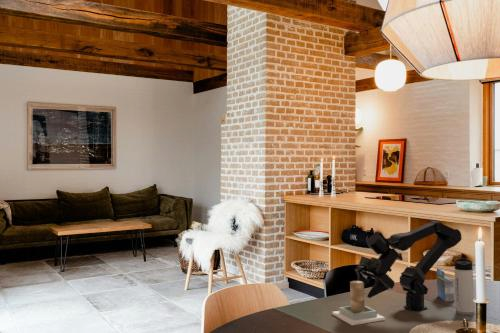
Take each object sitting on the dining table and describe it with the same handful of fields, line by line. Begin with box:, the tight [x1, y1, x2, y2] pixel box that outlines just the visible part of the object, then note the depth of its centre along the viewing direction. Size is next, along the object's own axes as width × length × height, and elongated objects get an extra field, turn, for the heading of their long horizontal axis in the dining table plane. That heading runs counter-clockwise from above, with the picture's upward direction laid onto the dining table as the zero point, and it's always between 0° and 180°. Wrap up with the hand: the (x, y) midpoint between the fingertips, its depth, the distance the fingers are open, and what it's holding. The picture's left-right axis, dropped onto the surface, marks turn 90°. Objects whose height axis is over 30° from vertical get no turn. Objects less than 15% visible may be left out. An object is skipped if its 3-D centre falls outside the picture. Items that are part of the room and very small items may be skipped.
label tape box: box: [436, 267, 455, 303], centre depth 199 cm, size 9×4×12 cm, turn 179°
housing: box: [331, 305, 386, 326], centre depth 179 cm, size 14×14×3 cm
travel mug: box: [454, 257, 475, 316], centre depth 180 cm, size 6×7×20 cm
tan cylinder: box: [349, 280, 366, 313], centre depth 179 cm, size 5×5×12 cm
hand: (361, 294), depth 179 cm, fingers open, 9 cm apart
